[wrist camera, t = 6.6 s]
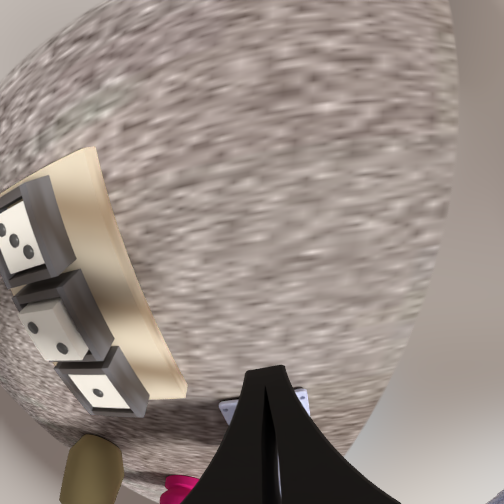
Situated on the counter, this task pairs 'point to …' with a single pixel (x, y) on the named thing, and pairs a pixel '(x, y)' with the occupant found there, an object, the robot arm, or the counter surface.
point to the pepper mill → (177, 488)
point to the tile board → (91, 284)
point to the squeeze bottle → (92, 472)
